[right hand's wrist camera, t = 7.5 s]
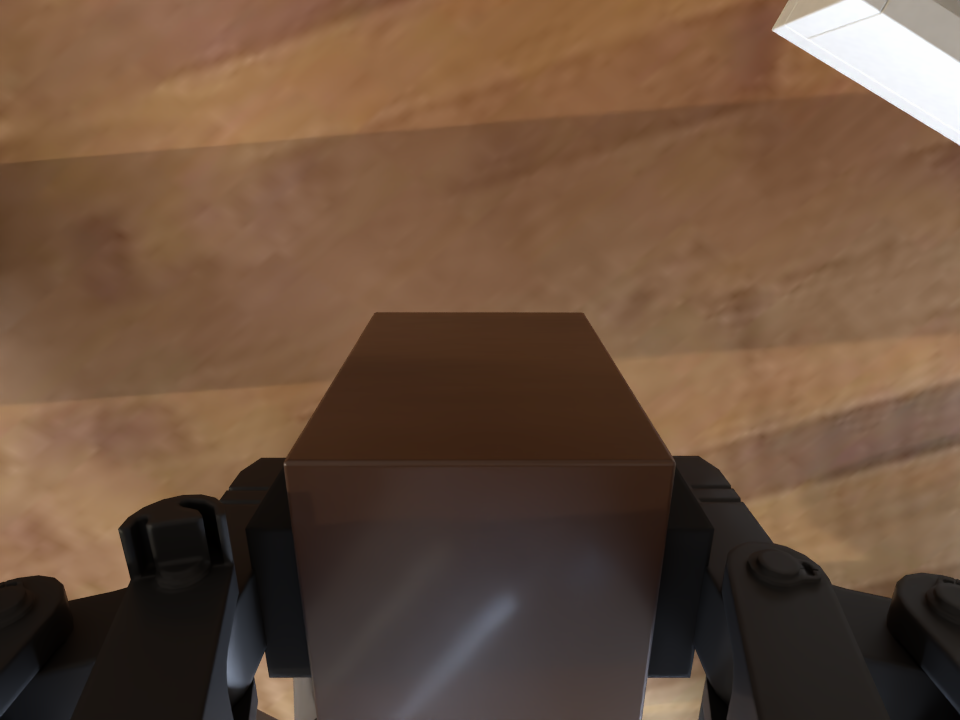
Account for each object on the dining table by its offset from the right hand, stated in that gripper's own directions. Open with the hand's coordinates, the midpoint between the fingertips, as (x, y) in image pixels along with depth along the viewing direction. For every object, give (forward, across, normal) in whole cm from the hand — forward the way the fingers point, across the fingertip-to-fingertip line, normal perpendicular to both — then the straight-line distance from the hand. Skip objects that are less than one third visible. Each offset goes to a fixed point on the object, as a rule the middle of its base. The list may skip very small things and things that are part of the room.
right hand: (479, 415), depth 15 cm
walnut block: (0, 0, 0) cm, 0 cm away
